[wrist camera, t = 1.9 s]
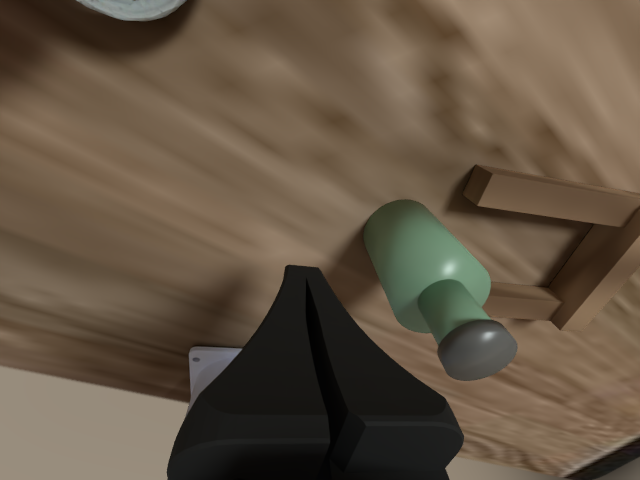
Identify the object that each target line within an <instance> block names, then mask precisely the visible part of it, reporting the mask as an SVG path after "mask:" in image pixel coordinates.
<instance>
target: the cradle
mask: <svg viewBox="0 0 640 480" xmlns="http://www.w3.org/2000/svg"><path fill="white" fill-rule="evenodd" d="M462 195H464V196H465V197H466V198H468V199H469V200H470V201H472V202H473V203H474V204H476V205H477V206H482V207H488V208H495V209H502V210H509V211H515V212H522V213H529V214H535V215H542V216H549V217H555V218H562V219H569V220H576V221H582V222H589V223H595V224H594V225H593V227H592V228H591V229H590V231H589V232H588V234H587V235H586V236H585V238H584V239H583V240H582V242H581V243H580V244H579V246H578V247H577V249H576V250H575V251H574V253H573V254H572V255H571V257H570V258H569V259H568V261H567V262H566V264H565V265H564V266H563V268H562V269H561V270H560V272H559V273H558V274H557V276H556V277H555V279H554V280H553V281H552V283H551V284H550V285H549V287H548V288H547V287H537V286H527V285H516V284H506V283H496V282H491V288H490V293H489V295H488V298H487V300H486V302H485V303H484V305H483V306H482V309H483V310H484V311H485V312H486V314H487V315H488V316H492V317H505V318H519V319H532V320H545V321H551V322H552V323H553V324H554V325H555V326H556V327H557V328H558V329H559V330H561V331H576V332H582V330H583V329H584V328H585V327H586V326H587V325H588V324H589V323H590V321H591V320H592V319H593V318H594V317H595V316H596V315H597V314H598V312H599V311H600V310H601V309H602V308H603V307H604V306H605V305H606V303H607V302H608V301H609V300H610V299H611V298H612V297H613V296H614V295H615V293H616V292H617V291H618V290H619V289H620V288H621V287H622V286H623V284H624V283H625V282H626V281H627V280H628V279H629V278H630V277H631V275H632V274H633V273H634V272H635V271H636V270H637V269H638V268H639V266H640V194H639V193H634V192H628V191H622V190H617V189H611V188H605V187H600V186H594V185H589V184H583V183H577V182H572V181H566V180H560V179H555V178H549V177H543V176H538V175H532V174H526V173H521V172H515V171H509V170H504V169H498V168H492V167H487V166H481V165H476V166H475V168H474V170H473V172H472V174H471V177H470V179H469V181H468V183H467V185H466V188H465V190H464V192H463V194H462Z"/></svg>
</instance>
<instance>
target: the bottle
mask: <svg viewBox="0 0 640 480" xmlns="http://www.w3.org/2000/svg"><path fill="white" fill-rule="evenodd" d="M363 239H364V244H365V247H366V249H367V251H368V254H369V256H370V258H371V261H372V263H373V265H374V268H375V270H376V273H377V275H378V277H379V280H380V282H381V284H382V287H383V289H384V291H385V294H386V296H387V298H388V301H389V303H390V305H391V308H392V310H393V312H394V315H395V317H396V319H397V320H398V322H399V323H400V324H401V325H402V326H404V327H405V328H407V329H409V330H412V331H415V332H420V333H432V335H433V336H434V338H435V340H436V342H437V344H438V351H437V352H438V357H439V359H440V361H441V363H442V365H443V367H444V369H445V371H446V372H447V374H448V375H449V376H450V377H452V378H454V379H457V380H462V381H471V380H478V379H482V378H485V377H488V376H490V375H493V374H495V373H497V372H498V371H500V370H501V369H503V368H504V367H505V366H507V365H508V364H509V363H510V362H511V361H512V359H513V358H514V356H515V355H516V352H517V343H516V341H515V339H514V338H513V337H512V336H511V334H510V333H509V332H508V331H507V329H506V328H505V327H504V326H503V325H502V324H501V323H499V322H497V321H494V320H491V319H490V317H489V316H488V315H487V314H486V312H485V311H484V310H483V309H482V306H483V305H484V303H485V302H486V300H487V298H488V295H489V293H490V288H491V281H490V277H489V274H488V272H487V271H486V269H485V268H484V267H483V266H482V265H481V264H480V263H479V262H478V261H477V260H476V259H475V258H474V257H473V256H472V255H471V254H470V252H469V251H468V250H467V249H466V248H465V247H464V246H463V245H462V244H461V243H460V242H459V241H458V240H457V239H456V238H455V237H454V236H453V235H452V234H451V233H450V232H449V231H448V230H447V229H446V228H445V227H444V225H443V224H442V223H441V222H440V221H439V220H438V219H437V218H436V217H435V216H434V215H433V214H432V213H431V212H430V211H429V210H428V209H427V208H426V207H425V206H424V205H423V204H421V203H419V202H416V201H413V200H397V201H393V202H390V203H388V204H385V205H384V206H382V207H380V208H379V209H378V210H377V211H375V212H374V213H373V215H372V216H371V217H370V218H369V220H368V222H367V223H366V226H365V229H364V234H363Z"/></svg>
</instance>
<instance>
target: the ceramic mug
mask: <svg viewBox="0 0 640 480" xmlns="http://www.w3.org/2000/svg"><path fill="white" fill-rule="evenodd" d="M76 1H78V2H80V3H81V4H83V5H85V6H86V7H88V8H90V9H93V10H95V11H98V12H100V13H103V14H105V15H108V16H110V17H113V18H117V19H121V20H129V21H150V20H155V19H159V18H163V17H166V16H168V15H169V14H170V13H172V12H174V11H176V10H177V9H178V8H179V7H180V6H181V5H182V4H183V3H184V2H186V1H187V0H136V1H133V0H76Z"/></svg>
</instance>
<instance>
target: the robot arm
mask: <svg viewBox="0 0 640 480" xmlns="http://www.w3.org/2000/svg"><path fill="white" fill-rule="evenodd" d="M189 368H190V388H191V399H190V403H189V406H188V410H187V414H186V417H185V420H184V422H183V424H182V426H181V428H180V430H179V433H178V435H177V437H176V440H175V442H174V446H173V449H172V452H171V456H170V459H169V463H168V468H167V477H168V479H167V480H449V477H448V474H447V472H446V470H445V468H446V466H447V465H448V464H449V463H450V461H451V460H452V459H453V458H454V457H455V456H456V454H457V453H458V452H459V450H460V449H461V447H462V445H463V441H464V435H463V433H462V431H461V429H460V427H459V425H458V422H457V420H456V418H455V416H454V413H453V411H452V410H451V408H450V406H449V404H448V402H447V401H446V399H445V398H444V397H443V396H442V395H440V394H439V393H437V392H436V391H434V390H433V389H431V388H430V387H428V386H427V385H425V384H424V383H423V382H421V381H420V380H418V379H417V378H415V377H414V376H413V375H412V374H410V373H409V372H408V371H406V370H405V369H404V368H403V367H401V366H400V365H399V364H398V363H396V362H395V361H394V360H393V359H392V358H390V357H389V356H388V355H387V354H386V353H385V352H384V351H383V350H382V349H381V348H379V347H378V346H377V345H376V344H375V343H374V342H373V341H372V340H371V339H370V338H369V337H368V336H367V335H366V334H365V332H364V331H363V330H362V329H361V328H360V327H359V326H358V325H357V323H356V322H355V321H354V320H353V319H352V317H351V316H350V315H349V313H348V312H347V311H346V309H345V308H344V307H343V305H342V304H341V302H340V301H339V300H338V298H337V297H336V295H335V294H334V292H333V291H332V289H331V287H330V286H329V284H328V283H327V281H326V279H325V277H324V276H323V274H322V272H321V270H320V269H319V268H318V267H307V266H297V265H287V266H286V267H285V272H284V278H283V282H282V285H281V287H280V290H279V292H278V294H277V296H276V299H275V301H274V302H273V304H272V306H271V308H270V310H269V312H268V313H267V315H266V317H265V318H264V320H263V322H262V323H261V325H260V326H259V328H258V329H257V330H256V332H255V333H254V335H253V336H252V337H251V339H250V340H249V341H248V343H247V344H246V345H245V346H244V348H243V349H242V348H220V347H198V346H197V347H192V348H191V349H190V352H189Z"/></svg>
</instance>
